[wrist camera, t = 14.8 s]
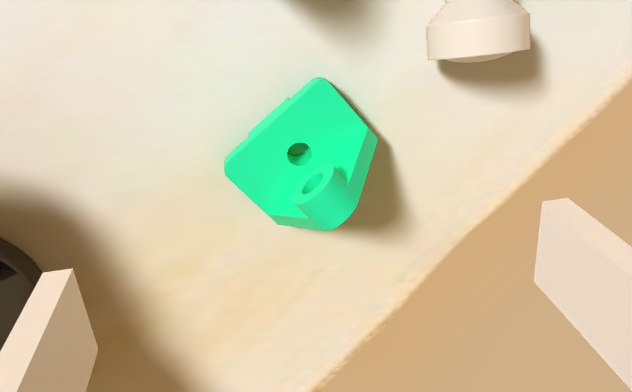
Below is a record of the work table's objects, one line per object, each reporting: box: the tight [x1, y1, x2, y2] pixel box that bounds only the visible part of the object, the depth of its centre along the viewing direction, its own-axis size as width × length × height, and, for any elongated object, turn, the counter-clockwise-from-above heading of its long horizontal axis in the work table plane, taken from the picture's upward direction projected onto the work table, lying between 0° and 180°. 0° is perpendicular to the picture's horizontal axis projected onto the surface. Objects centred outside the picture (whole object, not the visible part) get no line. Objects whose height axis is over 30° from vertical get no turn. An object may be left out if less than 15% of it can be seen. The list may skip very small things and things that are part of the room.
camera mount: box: [224, 77, 378, 231], centre depth 46 cm, size 12×8×10 cm, turn 131°
